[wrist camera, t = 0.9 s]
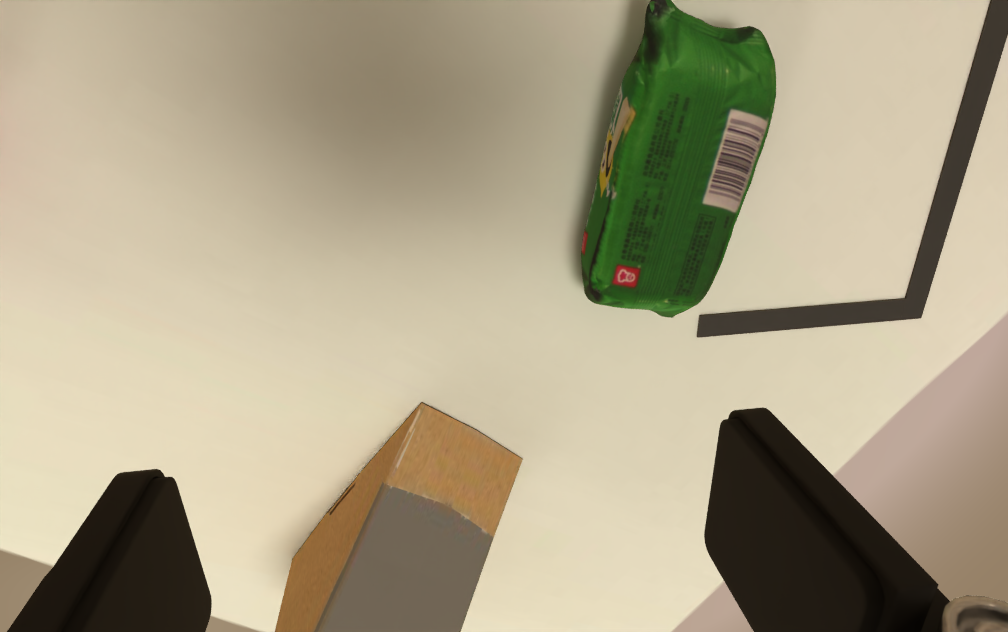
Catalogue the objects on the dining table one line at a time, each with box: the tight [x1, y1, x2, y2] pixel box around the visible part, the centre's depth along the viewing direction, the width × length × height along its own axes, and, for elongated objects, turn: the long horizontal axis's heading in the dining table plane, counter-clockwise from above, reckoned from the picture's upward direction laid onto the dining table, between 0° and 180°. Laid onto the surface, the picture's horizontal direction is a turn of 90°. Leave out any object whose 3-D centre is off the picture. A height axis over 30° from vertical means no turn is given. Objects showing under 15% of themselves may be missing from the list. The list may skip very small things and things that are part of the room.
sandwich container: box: [275, 403, 522, 632], centre depth 34 cm, size 9×15×15 cm, turn 141°
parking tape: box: [697, 0, 1008, 337], centre depth 34 cm, size 22×15×1 cm
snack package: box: [581, 0, 776, 317], centre depth 31 cm, size 7×16×5 cm, turn 170°
